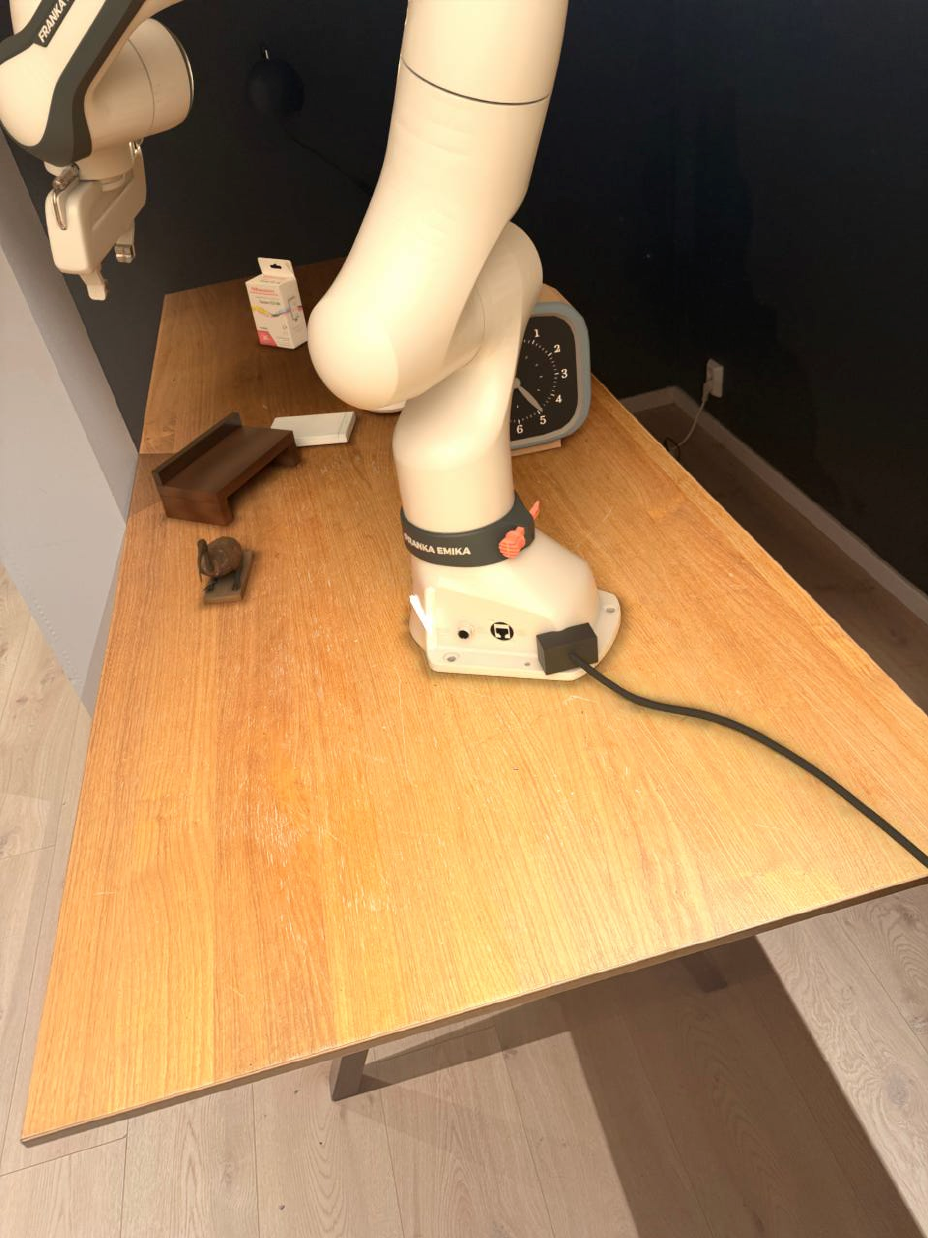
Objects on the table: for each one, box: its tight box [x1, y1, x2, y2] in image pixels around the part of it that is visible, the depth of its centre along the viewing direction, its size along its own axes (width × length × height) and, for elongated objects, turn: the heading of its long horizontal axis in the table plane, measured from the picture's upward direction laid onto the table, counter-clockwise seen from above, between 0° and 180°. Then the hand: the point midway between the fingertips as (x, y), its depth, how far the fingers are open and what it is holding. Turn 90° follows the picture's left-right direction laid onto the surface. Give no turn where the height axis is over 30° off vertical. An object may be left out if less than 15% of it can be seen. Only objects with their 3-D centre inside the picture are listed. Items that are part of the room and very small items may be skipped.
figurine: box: [196, 535, 255, 605], centre depth 110 cm, size 14×4×9 cm, turn 2°
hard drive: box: [270, 411, 357, 448], centre depth 143 cm, size 2×8×12 cm
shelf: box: [151, 411, 301, 527], centre depth 130 cm, size 10×18×7 cm, turn 155°
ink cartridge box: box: [244, 257, 308, 350], centre depth 173 cm, size 9×5×15 cm, turn 58°
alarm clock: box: [510, 283, 592, 458], centre depth 127 cm, size 21×10×22 cm, turn 102°
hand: (113, 277), depth 107 cm, fingers open, 8 cm apart
